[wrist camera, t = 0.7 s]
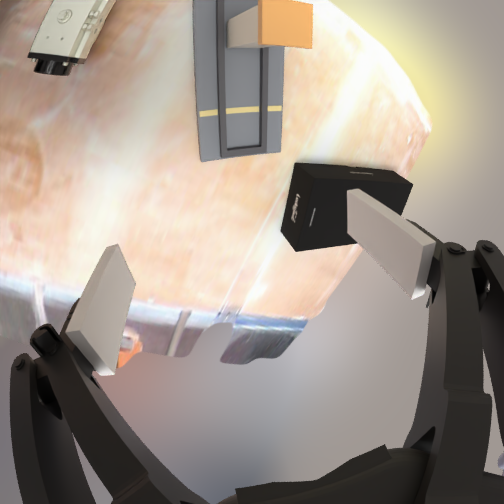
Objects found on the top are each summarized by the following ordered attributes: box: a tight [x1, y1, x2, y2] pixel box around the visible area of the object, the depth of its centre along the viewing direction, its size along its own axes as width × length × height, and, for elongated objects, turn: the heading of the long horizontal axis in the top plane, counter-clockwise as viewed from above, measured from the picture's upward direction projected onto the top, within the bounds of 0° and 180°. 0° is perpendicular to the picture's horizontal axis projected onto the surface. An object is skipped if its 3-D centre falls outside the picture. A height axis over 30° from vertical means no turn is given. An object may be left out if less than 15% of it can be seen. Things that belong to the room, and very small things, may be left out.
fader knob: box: [227, 0, 313, 49], centre depth 21 cm, size 5×5×13 cm
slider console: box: [193, 0, 284, 162], centre depth 29 cm, size 26×12×2 cm, turn 179°
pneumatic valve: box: [27, 0, 116, 76], centre depth 15 cm, size 6×12×12 cm, turn 151°
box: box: [281, 163, 413, 252], centre depth 48 cm, size 25×14×7 cm, turn 82°
